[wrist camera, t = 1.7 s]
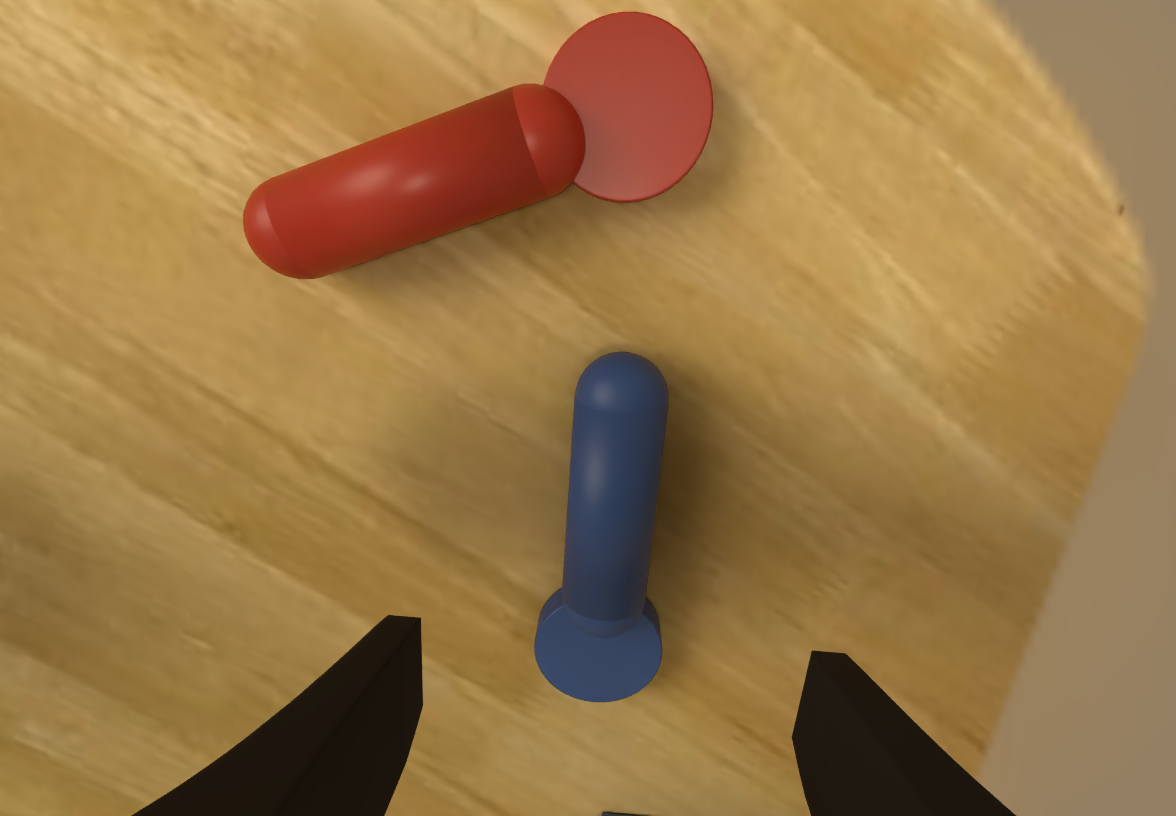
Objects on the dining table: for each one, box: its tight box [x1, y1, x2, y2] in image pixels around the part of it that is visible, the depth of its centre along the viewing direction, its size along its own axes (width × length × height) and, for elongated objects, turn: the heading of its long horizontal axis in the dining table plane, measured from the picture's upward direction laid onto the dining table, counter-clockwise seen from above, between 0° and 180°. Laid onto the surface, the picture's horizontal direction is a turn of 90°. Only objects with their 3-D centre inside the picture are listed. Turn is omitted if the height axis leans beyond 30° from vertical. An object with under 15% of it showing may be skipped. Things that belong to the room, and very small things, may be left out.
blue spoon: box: [534, 352, 668, 702], centre depth 18 cm, size 12×4×3 cm, turn 176°
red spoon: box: [243, 12, 713, 279], centre depth 15 cm, size 12×4×3 cm, turn 108°
